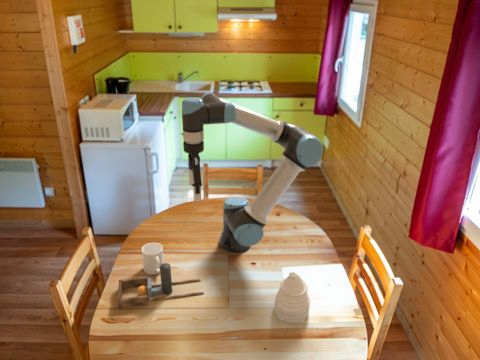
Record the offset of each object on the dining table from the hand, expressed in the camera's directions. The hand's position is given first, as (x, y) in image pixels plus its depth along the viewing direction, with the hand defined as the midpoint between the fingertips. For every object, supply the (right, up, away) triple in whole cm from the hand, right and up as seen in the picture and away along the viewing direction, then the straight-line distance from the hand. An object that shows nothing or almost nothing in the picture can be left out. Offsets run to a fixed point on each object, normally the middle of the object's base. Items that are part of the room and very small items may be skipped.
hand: (195, 192), depth 154 cm
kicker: (-14, -39, +2) cm, 42 cm away
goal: (-24, -40, -1) cm, 47 cm away
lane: (-9, -39, +3) cm, 40 cm away
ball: (-20, -38, -1) cm, 43 cm away
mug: (-18, -34, +13) cm, 41 cm away
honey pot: (+37, -44, -6) cm, 58 cm away
